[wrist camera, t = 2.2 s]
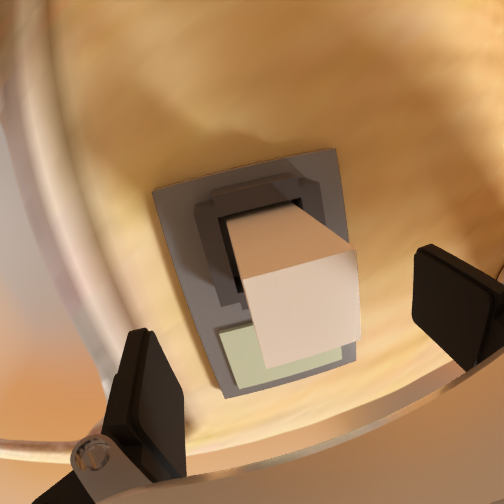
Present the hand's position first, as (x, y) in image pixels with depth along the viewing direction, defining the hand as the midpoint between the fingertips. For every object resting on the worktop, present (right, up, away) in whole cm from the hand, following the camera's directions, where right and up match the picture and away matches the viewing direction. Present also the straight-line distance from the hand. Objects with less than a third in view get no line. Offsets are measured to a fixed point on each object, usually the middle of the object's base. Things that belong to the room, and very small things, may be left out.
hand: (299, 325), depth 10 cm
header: (0, 0, +13) cm, 13 cm away
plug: (-1, +4, +10) cm, 11 cm away
